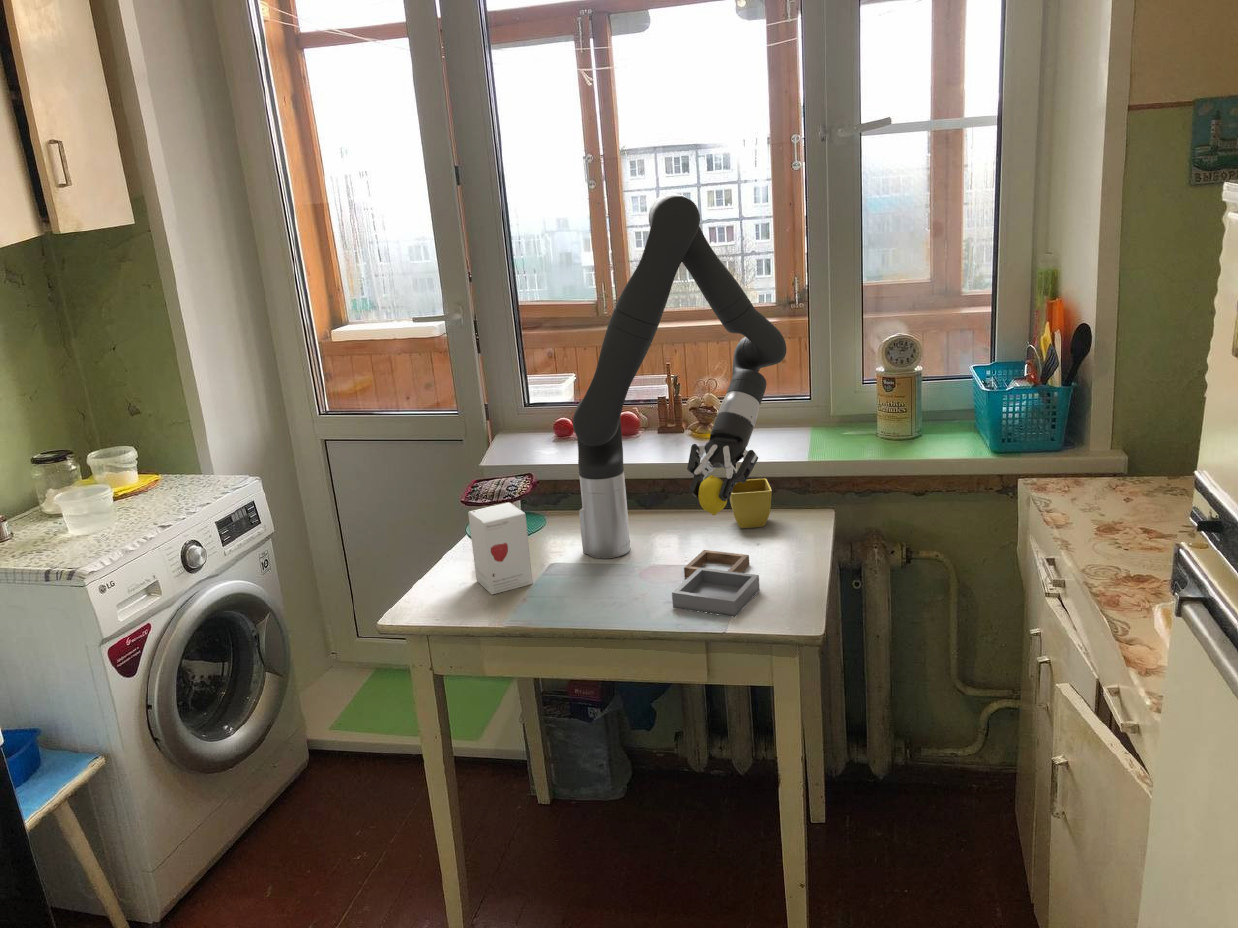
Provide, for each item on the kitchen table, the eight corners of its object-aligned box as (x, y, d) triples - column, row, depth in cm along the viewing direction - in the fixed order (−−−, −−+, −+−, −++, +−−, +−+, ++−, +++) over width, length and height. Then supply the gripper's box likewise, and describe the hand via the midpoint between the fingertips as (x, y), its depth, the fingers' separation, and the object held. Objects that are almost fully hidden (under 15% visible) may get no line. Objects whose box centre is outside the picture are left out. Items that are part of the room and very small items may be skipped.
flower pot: (773, 530, 206) (772, 490, 204) (733, 533, 207) (731, 493, 204) (768, 516, 215) (766, 478, 212) (729, 519, 215) (726, 481, 213)
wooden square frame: (684, 577, 186) (683, 567, 186) (704, 559, 194) (703, 549, 193) (730, 583, 181) (730, 573, 181) (749, 564, 189) (748, 554, 189)
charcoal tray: (673, 607, 173) (671, 592, 172) (700, 582, 183) (699, 567, 182) (735, 617, 168) (734, 601, 167) (759, 590, 178) (758, 575, 177)
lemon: (727, 519, 181) (725, 479, 178) (698, 520, 182) (695, 480, 180) (729, 510, 186) (727, 470, 184) (701, 510, 187) (698, 471, 185)
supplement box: (491, 596, 185) (481, 523, 181) (475, 581, 193) (466, 510, 189) (534, 584, 189) (526, 512, 185) (517, 570, 197) (509, 500, 193)
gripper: (696, 407, 188) (667, 483, 183) (762, 413, 180) (734, 492, 174) (711, 427, 194) (683, 501, 188) (775, 433, 186) (749, 511, 180)
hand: (708, 496), depth 181 cm, fingers closed on lemon, 5 cm apart
